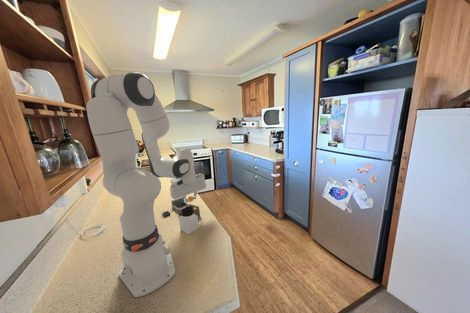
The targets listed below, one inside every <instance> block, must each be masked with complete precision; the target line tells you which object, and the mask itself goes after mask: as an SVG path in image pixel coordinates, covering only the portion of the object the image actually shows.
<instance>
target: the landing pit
mask: <svg viewBox="0 0 470 313" xmlns="http://www.w3.org/2000/svg"><path fill="white" fill-rule="evenodd" d="M170 202H171V208H172V209H173V210H174V211H175V212H177V214H179V213H178V208H180V209H182V208H183V207H185V206H190V205H189V204H190V203H189V202H185V199H184V198H183V197H180V198H177V199H173V200H171V201H170Z"/></svg>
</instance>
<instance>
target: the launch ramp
mask: <svg viewBox="0 0 470 313" xmlns="http://www.w3.org/2000/svg"><path fill="white" fill-rule="evenodd" d="M188 204H189V205H190V206H192V207H193V209H194V214H195V215H197V216H198V218H199V217H200V216H201V213H200V211H201V210H200V207H199V206H198V205H195V204H191V203H188ZM177 214H178V215H179V216H182V213H181V209H180V208H178V213H177Z"/></svg>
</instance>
